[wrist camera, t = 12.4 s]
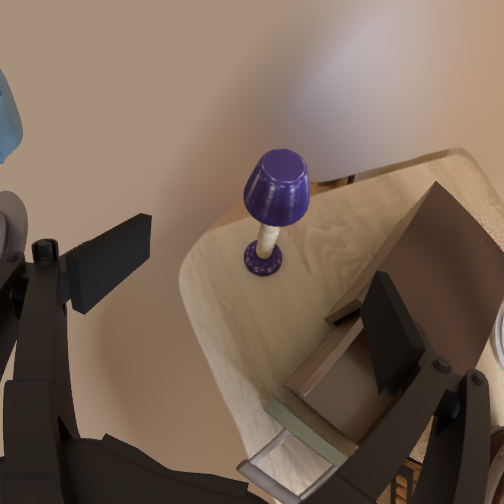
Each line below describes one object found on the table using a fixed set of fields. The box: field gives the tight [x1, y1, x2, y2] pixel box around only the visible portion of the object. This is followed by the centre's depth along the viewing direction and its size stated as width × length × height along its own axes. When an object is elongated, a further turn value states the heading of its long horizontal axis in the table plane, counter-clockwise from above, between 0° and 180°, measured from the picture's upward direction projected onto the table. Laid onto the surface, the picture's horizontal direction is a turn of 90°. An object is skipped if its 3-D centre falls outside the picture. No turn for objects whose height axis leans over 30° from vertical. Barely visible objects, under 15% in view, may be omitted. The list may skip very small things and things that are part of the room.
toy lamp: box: [244, 149, 309, 276], centre depth 24 cm, size 5×5×17 cm
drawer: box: [236, 308, 403, 504], centre depth 22 cm, size 22×13×8 cm, turn 136°
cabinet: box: [325, 181, 504, 376], centre depth 26 cm, size 17×14×10 cm
